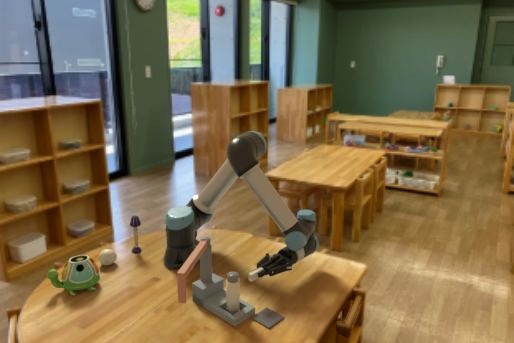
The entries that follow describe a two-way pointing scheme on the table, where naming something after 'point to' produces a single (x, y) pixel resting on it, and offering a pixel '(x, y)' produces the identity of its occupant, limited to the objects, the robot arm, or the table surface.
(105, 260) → the cream oval egg shape
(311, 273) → the table surface
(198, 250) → the pink bent bar
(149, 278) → the table surface
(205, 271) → the dock
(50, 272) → the turtle holder
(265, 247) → the table surface
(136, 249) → the toy lamp
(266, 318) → the mat
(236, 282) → the bottle
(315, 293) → the table surface
